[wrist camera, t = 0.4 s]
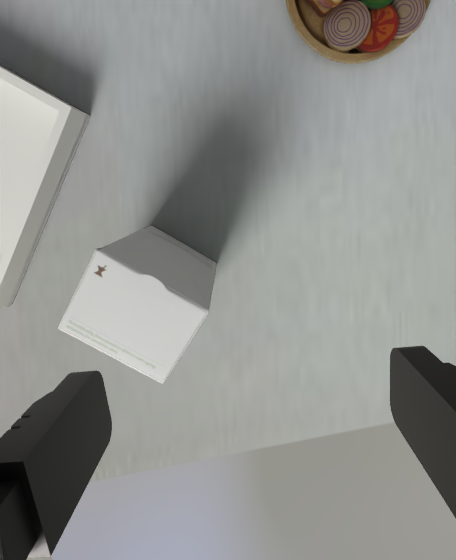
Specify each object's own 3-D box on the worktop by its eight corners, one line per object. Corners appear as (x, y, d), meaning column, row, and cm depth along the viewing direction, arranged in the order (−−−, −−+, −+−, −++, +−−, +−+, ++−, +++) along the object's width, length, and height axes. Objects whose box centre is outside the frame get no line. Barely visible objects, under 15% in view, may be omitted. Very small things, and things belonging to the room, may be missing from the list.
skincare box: (122, 273, 39) (47, 328, 24) (152, 219, 38) (91, 241, 22) (191, 313, 40) (160, 390, 25) (222, 262, 38) (210, 311, 23)
